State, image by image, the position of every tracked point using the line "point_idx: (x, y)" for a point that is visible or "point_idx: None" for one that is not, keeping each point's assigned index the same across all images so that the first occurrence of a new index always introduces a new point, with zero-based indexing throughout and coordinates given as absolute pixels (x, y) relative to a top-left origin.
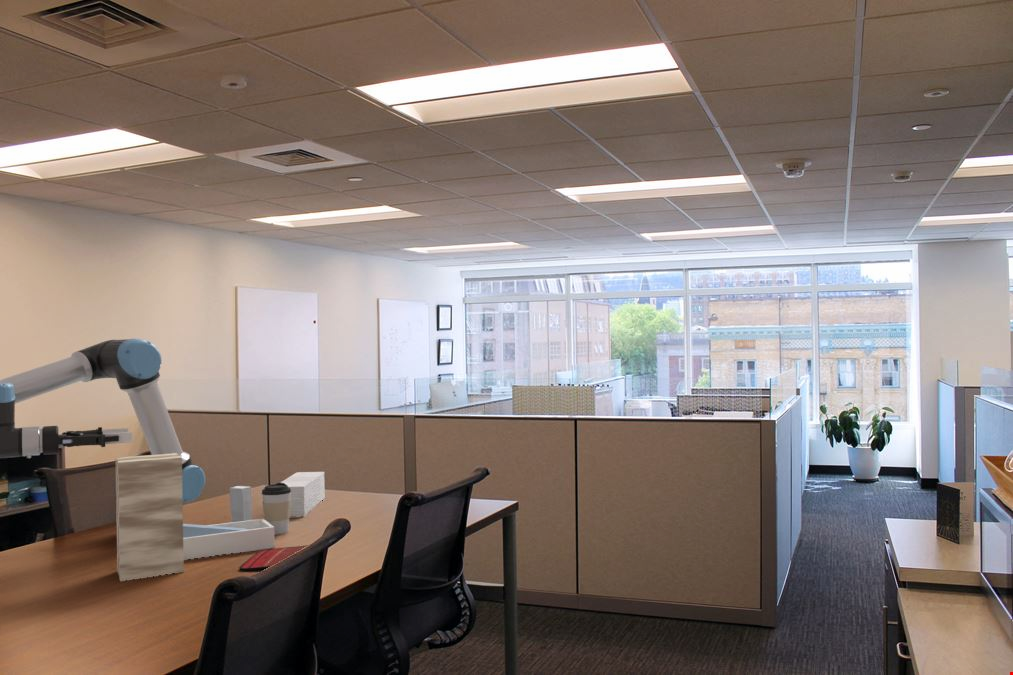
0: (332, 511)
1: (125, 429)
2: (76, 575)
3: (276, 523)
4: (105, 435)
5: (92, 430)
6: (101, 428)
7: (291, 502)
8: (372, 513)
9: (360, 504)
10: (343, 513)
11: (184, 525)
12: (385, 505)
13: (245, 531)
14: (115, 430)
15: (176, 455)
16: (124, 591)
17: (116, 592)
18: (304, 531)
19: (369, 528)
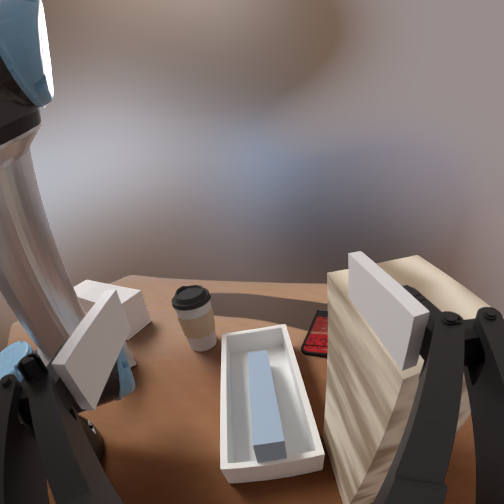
0: (149, 304)
1: (114, 300)
2: None
3: (213, 332)
4: (426, 320)
5: (11, 404)
6: (42, 361)
7: (136, 314)
8: (186, 285)
9: (142, 289)
10: (166, 299)
11: (269, 405)
12: (163, 279)
13: (292, 347)
14: (96, 328)
15: (380, 265)
16: (464, 455)
17: (467, 463)
18: (220, 324)
19: (246, 288)
